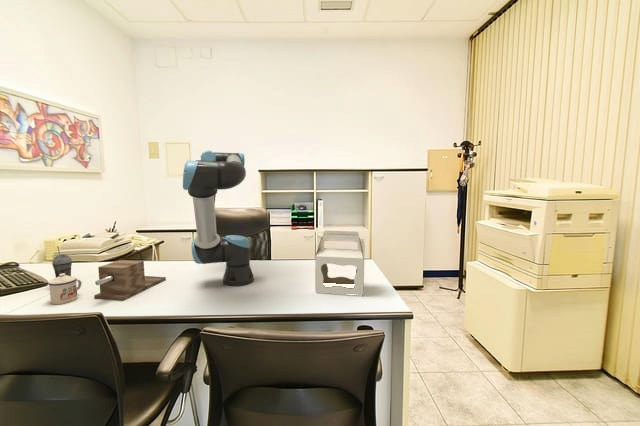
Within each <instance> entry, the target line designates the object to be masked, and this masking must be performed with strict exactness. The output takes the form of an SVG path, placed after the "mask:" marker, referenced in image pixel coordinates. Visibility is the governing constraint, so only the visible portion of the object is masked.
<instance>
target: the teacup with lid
mask: <svg viewBox="0 0 640 426" xmlns="http://www.w3.org/2000/svg"><path fill="white" fill-rule="evenodd" d="M77 282H78V285H77ZM47 283H48V286H49V296H50V297H49V298H50V303H51V304H52V305H64V304H68V303H71V302H75V301H76V300H77V299H78V298H79V297H78V291H79V290H80V289H81V287H82V284H83V283H82V281H81V280H80V279H77V277H76V276H73V275H71V276H68V275H65V273H62V274H59V277H56V276H55V278H54V279H51V280H49V281H48V282H47Z"/></svg>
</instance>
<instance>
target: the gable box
mask: <svg viewBox="0 0 640 426" xmlns="http://www.w3.org/2000/svg"><path fill="white" fill-rule="evenodd" d="M328 241H329V242H331V241H332V242H350V243H351V242H353V243H357V249H350V248H349V249H348V248H325V242H328ZM316 245H317V246H316V248H317V251H316V253H315V256H314V262H315V264H314V265H315V267H314V274H315V275H314V276H315V277H314V281H315V282H314V293H315V292H316V294H321V293H334V294H333V295H336V294H356V295H357V294H358V295H363V296H364V289H363V288H364V286H365V284H364V283H365V250H366V249H365V239H364V238H361V237H360V234H359V231H349V230H347V231H343V230H324V231H323V233H322V236H321V237H320V236H318V238H317V244H316ZM328 264H331V265H332V264H333V265H336V266H343V267H344V266H352V267H355V268H356V269H355V275H354V278H353V279H352V278H349V277H345V276H335V277H330V276H329V274H328V273H329V268H328ZM323 283H336V284H355V286H354V288H346V287H342V286H332V287H325V286H324V285H323Z"/></svg>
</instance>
